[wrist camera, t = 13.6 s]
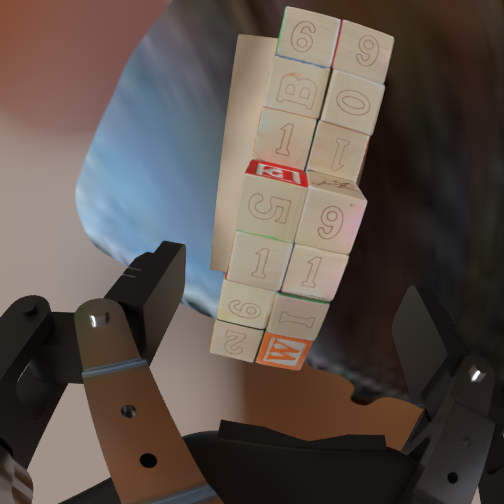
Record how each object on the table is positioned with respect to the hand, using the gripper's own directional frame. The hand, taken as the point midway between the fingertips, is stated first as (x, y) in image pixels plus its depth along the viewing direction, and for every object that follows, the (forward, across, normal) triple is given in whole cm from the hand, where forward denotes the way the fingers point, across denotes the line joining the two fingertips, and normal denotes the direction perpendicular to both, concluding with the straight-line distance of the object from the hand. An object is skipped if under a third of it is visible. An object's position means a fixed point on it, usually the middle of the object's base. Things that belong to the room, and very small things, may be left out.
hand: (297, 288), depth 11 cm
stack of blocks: (+18, 0, 0) cm, 18 cm away
